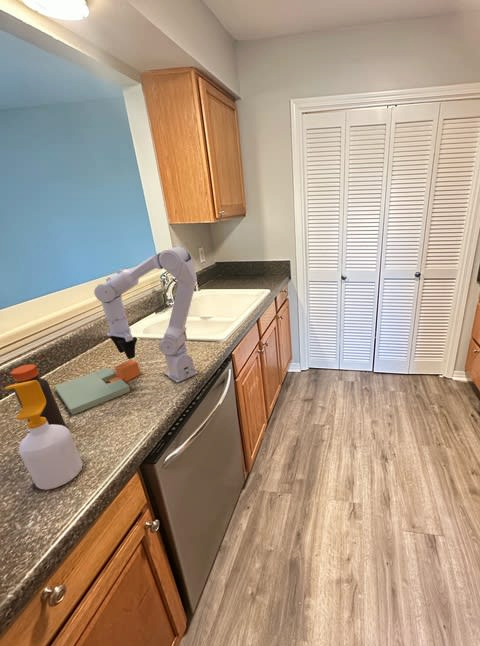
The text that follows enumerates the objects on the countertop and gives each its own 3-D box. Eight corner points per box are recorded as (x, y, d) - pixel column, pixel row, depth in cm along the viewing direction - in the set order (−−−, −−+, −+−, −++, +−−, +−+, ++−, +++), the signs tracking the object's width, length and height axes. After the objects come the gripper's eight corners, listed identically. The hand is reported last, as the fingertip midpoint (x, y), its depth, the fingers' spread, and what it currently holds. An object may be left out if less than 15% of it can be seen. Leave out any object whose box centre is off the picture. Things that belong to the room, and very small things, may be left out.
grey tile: (130, 391, 105) (128, 385, 105) (72, 415, 95) (70, 409, 94) (109, 371, 118) (108, 367, 118) (56, 391, 108) (54, 385, 107)
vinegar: (49, 425, 91) (21, 362, 83) (72, 424, 91) (47, 361, 83) (30, 442, 85) (-2, 376, 77) (55, 441, 84) (25, 375, 76)
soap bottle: (30, 496, 69) (-21, 399, 59) (42, 467, 76) (-1, 377, 67) (79, 481, 72) (38, 387, 62) (86, 454, 79) (50, 367, 70)
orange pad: (140, 374, 116) (137, 361, 114) (115, 387, 108) (111, 374, 106) (134, 371, 118) (130, 359, 116) (108, 384, 110) (104, 371, 108)
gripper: (96, 316, 109) (107, 353, 114) (111, 326, 99) (123, 365, 105) (118, 311, 113) (128, 346, 119) (134, 320, 104) (144, 357, 109)
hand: (127, 354), depth 112 cm, fingers open, 7 cm apart
